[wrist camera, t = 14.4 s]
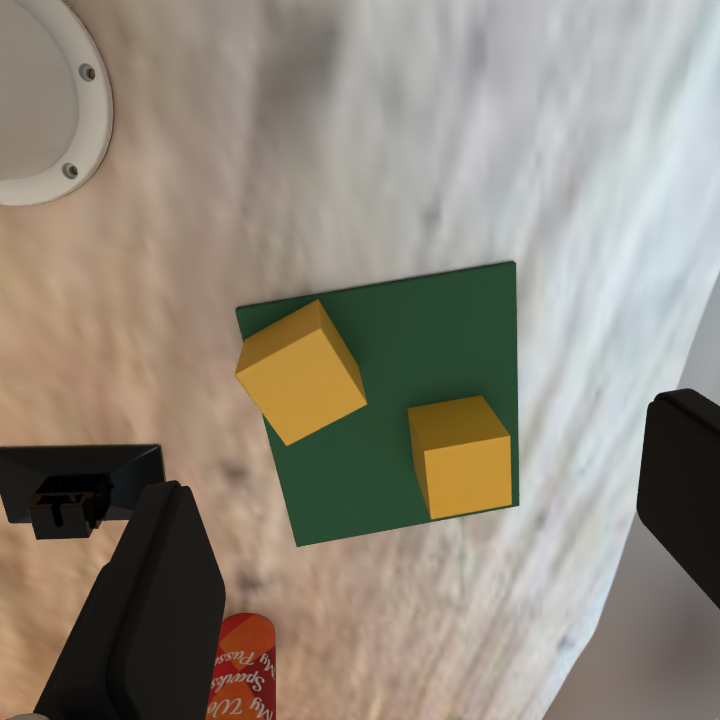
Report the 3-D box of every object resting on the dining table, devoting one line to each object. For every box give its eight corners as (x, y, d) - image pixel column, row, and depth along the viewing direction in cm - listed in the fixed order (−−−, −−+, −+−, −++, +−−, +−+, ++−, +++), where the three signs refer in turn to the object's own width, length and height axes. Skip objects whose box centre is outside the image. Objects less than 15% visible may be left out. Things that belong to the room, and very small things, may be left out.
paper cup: (287, 604, 47) (281, 776, 34) (284, 659, 50) (277, 837, 37) (202, 605, 46) (162, 784, 33) (204, 662, 49) (168, 845, 36)
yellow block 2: (414, 470, 41) (431, 519, 36) (407, 408, 39) (423, 451, 33) (484, 457, 42) (511, 504, 36) (481, 394, 39) (510, 435, 34)
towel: (296, 542, 44) (296, 547, 43) (236, 307, 35) (235, 310, 34) (516, 501, 45) (519, 505, 44) (513, 261, 36) (516, 262, 35)
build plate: (161, 443, 39) (144, 480, 35) (171, 517, 42) (156, 559, 37) (-11, 447, 37) (-51, 486, 33) (11, 523, 40) (-23, 568, 36)
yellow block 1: (289, 402, 38) (286, 446, 32) (244, 339, 35) (233, 375, 30) (358, 365, 37) (367, 404, 32) (318, 298, 35) (320, 327, 29)
